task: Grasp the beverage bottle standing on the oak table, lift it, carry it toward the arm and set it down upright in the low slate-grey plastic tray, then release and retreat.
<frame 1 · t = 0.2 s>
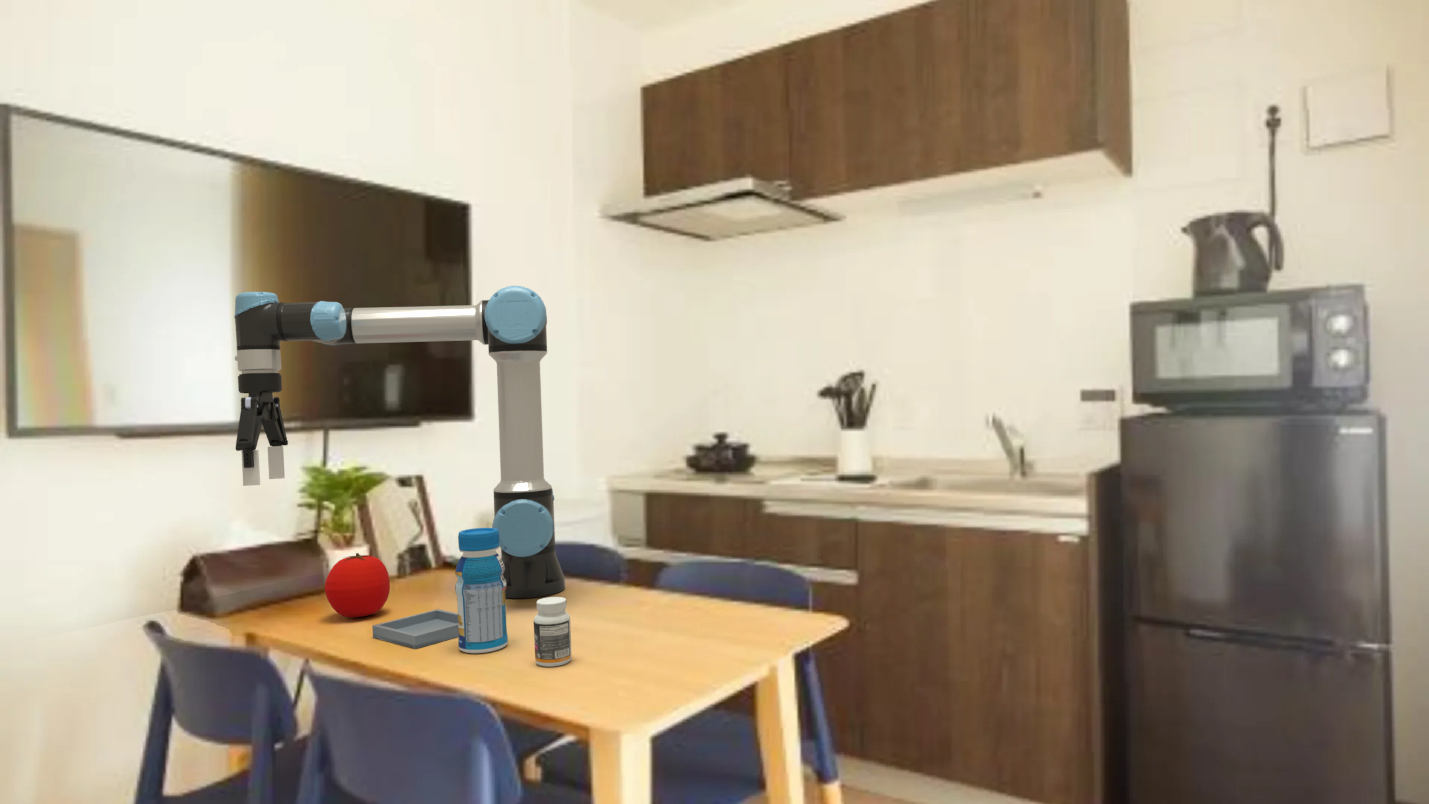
hand: (264, 482, 170), 28 cm above the table, fingers open, 13 cm apart
tomato: (358, 617, 174), on the table
beverage bottle: (483, 648, 149), on the table
tray: (427, 633, 159), on the table
pill bottle: (553, 663, 139), on the table
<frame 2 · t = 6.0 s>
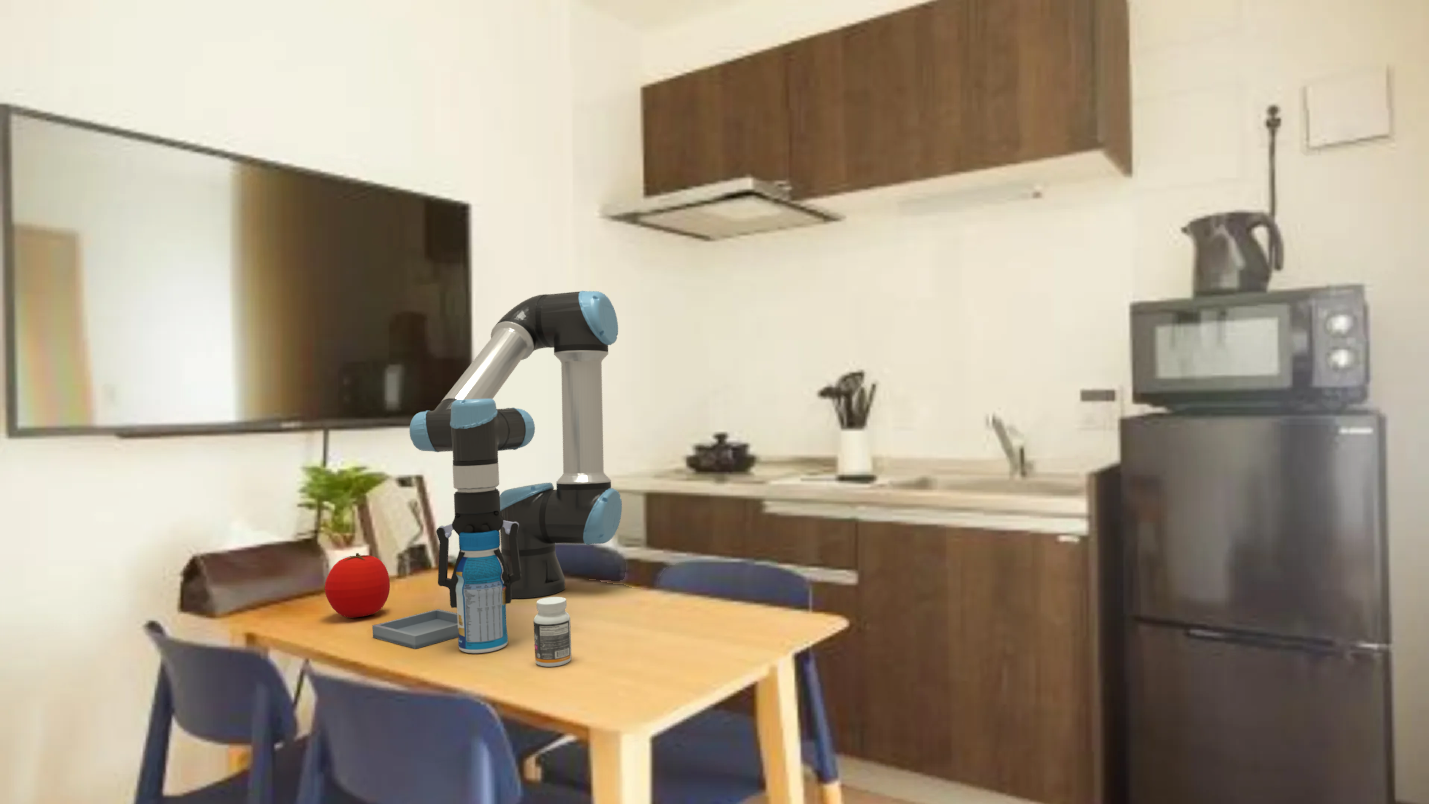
hand: (482, 624, 149), 4 cm above the table, fingers closed on beverage bottle, 6 cm apart
beverage bottle: (483, 648, 149), on the table, touching gripper
everything else where it was.
when the fingers open (6 cm above the table, at t = 11.4 s): beverage bottle moves 3 cm, resting on tray.
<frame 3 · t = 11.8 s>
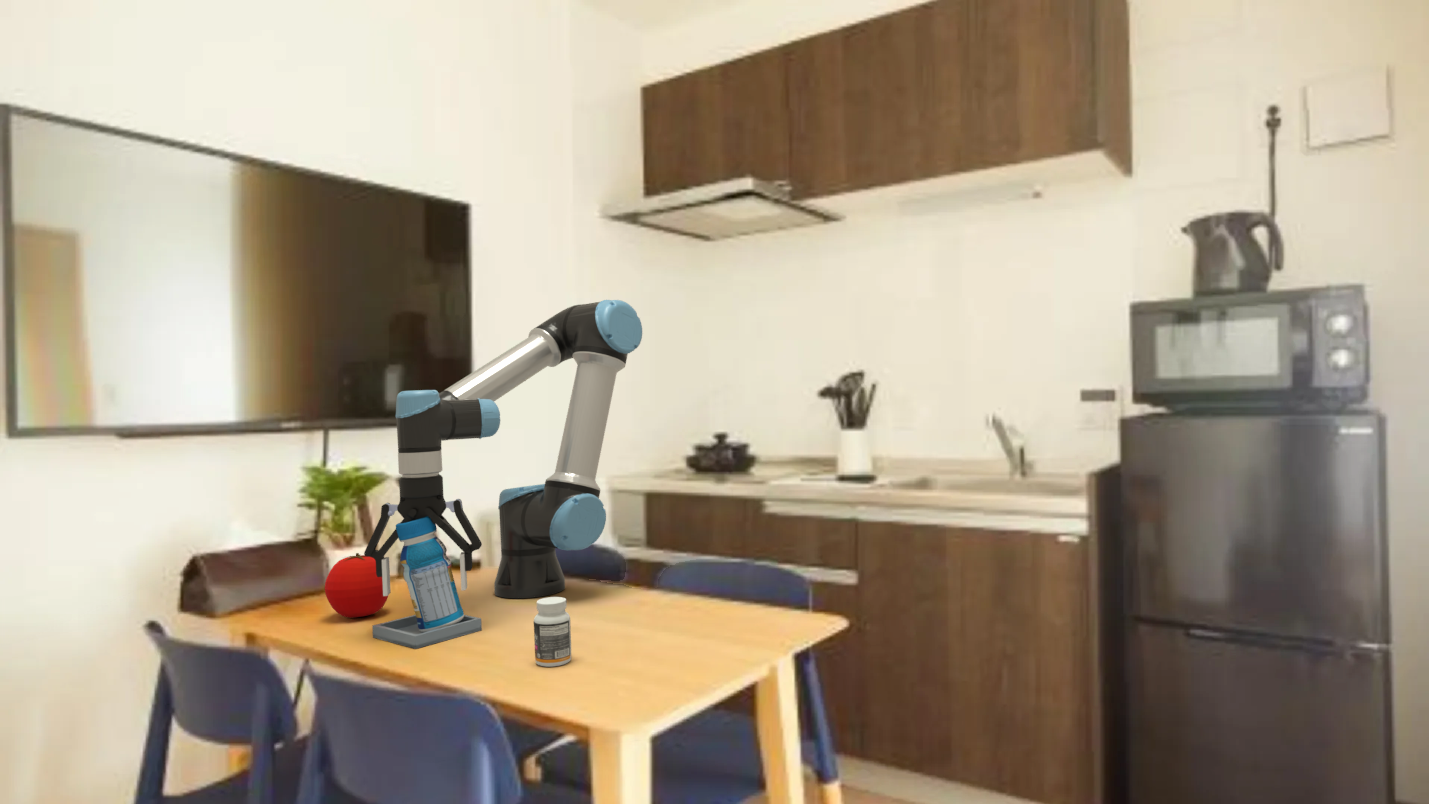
hand: (425, 591, 159), 8 cm above the table, fingers open, 13 cm apart
beverage bottle: (442, 626, 159), point 1 cm above the table, touching tray
everything else where it was.
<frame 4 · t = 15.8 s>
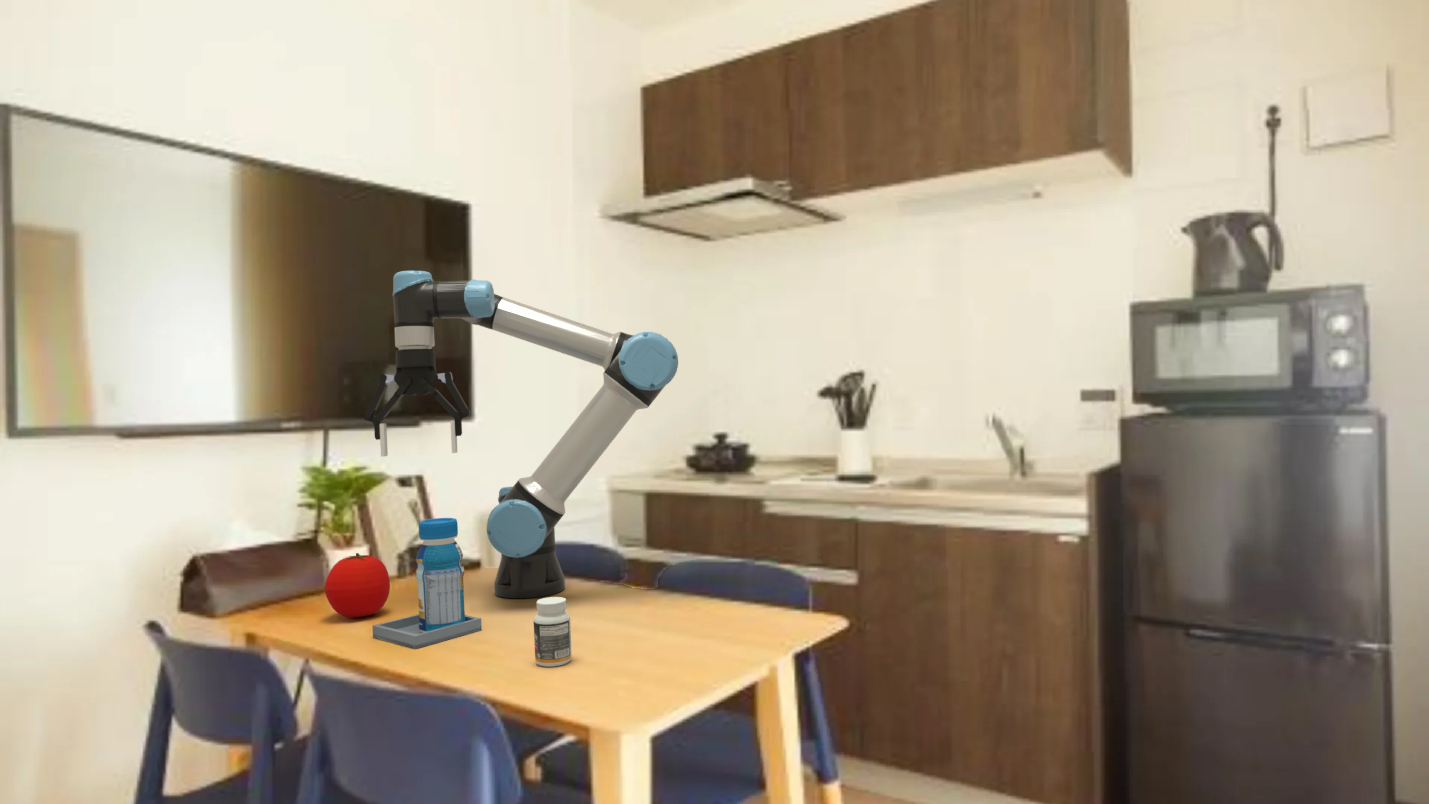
hand: (419, 454, 176), 32 cm above the table, fingers open, 13 cm apart
at the end: beverage bottle 2.7 cm from the tray (horizontally); beverage bottle tilted 0°; beverage bottle resting on tray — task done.
